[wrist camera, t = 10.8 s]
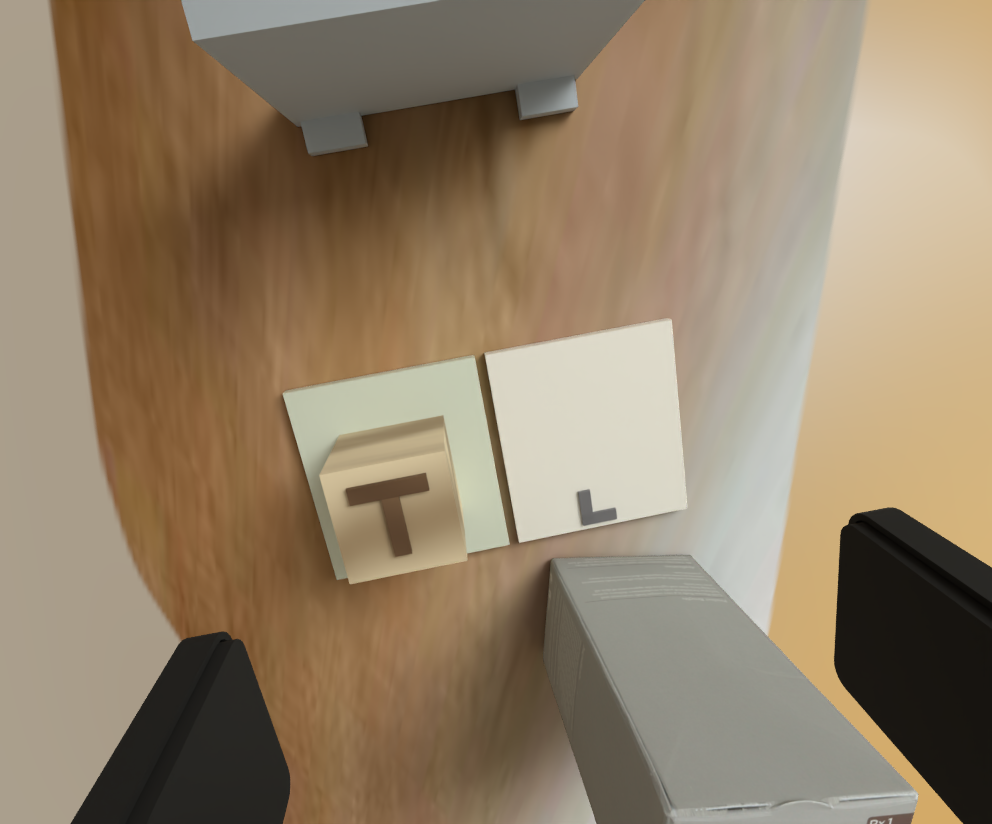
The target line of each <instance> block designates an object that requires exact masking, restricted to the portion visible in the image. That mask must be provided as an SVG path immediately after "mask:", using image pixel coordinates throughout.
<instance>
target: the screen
mask: <svg viewBox="0 0 992 824" xmlns="http://www.w3.org/2000/svg"><path fill="white" fill-rule="evenodd" d="M181 1H182V5H183V8H184V12H185V15H186V19H187V22H188V26H189V29H190V33H191V36H192V40H193V41H194V42H195V43H196V44H197V45H198V46H200V47H201V48H202V49H203V50H205V51H206V52H207V53H208V54H209V55H211V56H212V57H213V58H214V59H216V60H217V61H218V62H219V63H220V64H222V65H223V66H224V67H225V68H227V69H228V70H229V71H230V72H231V73H233V74H234V75H235V76H236V77H238V78H239V79H240V80H241V81H242V82H244V83H245V84H246V85H247V86H248V87H250V88H251V89H252V90H253V91H255V92H256V93H257V94H258V95H259V96H261V97H262V98H263V99H264V100H266V101H267V102H268V103H269V104H270V105H272V106H273V107H274V108H275V109H277V110H278V111H279V112H280V113H281V114H283V115H284V116H285V117H286V118H287V119H289V120H290V121H291V122H292V123H294V124H295V125H296V126H297V127H299V126H302V130H303V134H304V138H305V142H306V147H307V151H308V154H310V155H311V156H316V155H322V154H327V153H333V152H339V151H345V150H351V149H356V148H362V147H368V144H367V139H366V134H365V130H364V125H363V121H362V116H363V115H369V114H375V113H381V112H387V111H393V110H398V109H404V108H410V107H416V106H422V105H428V104H434V103H439V102H445V101H451V100H457V99H463V98H469V97H475V96H480V95H486V94H492V93H498V92H504V91H510V90H515V92H516V99H517V106H518V112H519V119H520V120H524V119H530V118H535V117H541V116H547V115H553V114H559V113H564V112H570V111H574V110H575V109H576V108H577V107H578V101H577V93H576V84H575V79H577V78H578V77H579V76H580V75H581V74H582V73H583V72H584V70H585V69H586V68H587V67H588V66H589V65H590V63H591V62H592V61H593V60H594V59H595V58H596V56H597V55H598V54H599V53H600V52H601V51H602V49H603V48H604V47H605V46H606V45H607V44H608V42H609V41H610V40H611V39H612V38H613V37H614V36H615V34H616V33H617V32H618V31H619V30H620V29H621V27H622V26H623V25H624V24H625V23H626V22H627V20H628V19H629V18H630V17H631V16H632V15H633V13H634V12H635V11H636V10H637V9H638V8H639V7H640V5H641V4H642V3H643V2H644V1H645V0H181Z"/></svg>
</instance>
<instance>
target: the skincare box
mask: <svg viewBox="0 0 992 824" xmlns="http://www.w3.org/2000/svg"><path fill="white" fill-rule="evenodd" d="M543 662H544V664H545V667H546V671H547V674H548V677H549V680H550V683H551V686H552V689H553V692H554V695H555V698H556V702H557V705H558V708H559V711H560V714H561V717H562V720H563V723H564V726H565V729H566V732H567V735H568V738H569V741H570V744H571V747H572V750H573V753H574V756H575V759H576V762H577V765H578V768H579V771H580V774H581V777H582V780H583V783H584V787H585V790H586V793H587V796H588V799H589V802H590V805H591V808H592V811H593V814H594V817H595V820H596V823H597V824H911V822H912V818H913V815H914V811H915V807H916V804H917V800H918V793H917V792H916V791H915V790H914V789H913V788H912V786H911V785H910V784H909V783H908V782H907V781H906V780H905V779H904V778H903V777H902V776H901V775H900V774H899V773H898V772H897V771H896V770H895V769H894V768H893V767H892V766H891V765H890V764H889V763H888V762H887V761H886V759H884V757H882V755H880V753H879V752H878V751H877V750H876V749H875V748H874V747H873V746H872V745H871V744H870V743H869V742H868V741H867V740H866V739H865V738H864V737H863V735H862V734H860V733H859V731H858V730H857V729H856V728H855V727H854V726H853V725H852V724H851V723H850V722H849V721H848V720H847V719H846V718H845V717H844V716H843V715H842V714H841V713H840V712H839V711H838V710H837V709H836V708H835V707H834V705H833V704H832V703H831V702H830V701H829V700H828V699H827V698H826V697H825V696H824V695H823V694H822V693H821V692H820V691H819V690H818V689H817V688H816V687H815V686H814V685H813V684H812V683H811V682H810V681H809V680H808V679H807V678H806V676H805V675H804V674H803V673H802V672H801V671H800V670H799V669H798V668H797V667H796V666H795V665H794V664H793V663H792V662H791V661H790V660H789V659H788V657H787V656H786V655H785V654H784V653H783V652H782V651H781V650H780V649H779V648H778V647H777V646H776V645H775V644H774V643H773V642H772V641H771V640H770V638H769V637H768V636H767V635H766V634H765V633H764V632H763V631H762V630H761V629H760V628H759V627H758V626H757V625H756V624H755V623H754V622H753V621H752V620H751V619H750V618H749V616H748V615H747V614H746V613H745V612H744V611H743V610H742V609H741V608H740V607H739V606H738V605H737V604H736V603H735V602H734V601H733V600H732V599H731V597H730V596H729V595H728V594H727V593H726V592H725V591H724V590H723V589H722V588H721V587H720V586H719V585H718V584H717V583H716V582H715V581H714V580H713V579H712V577H711V576H710V575H709V574H708V573H707V572H706V571H705V570H704V569H703V568H702V567H701V566H700V565H699V564H698V563H697V562H696V561H695V560H694V559H693V557H692V556H691V555H671V556H637V557H585V558H553V559H552V560H551V565H550V578H549V590H548V602H547V615H546V626H545V639H544V652H543Z"/></svg>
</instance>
